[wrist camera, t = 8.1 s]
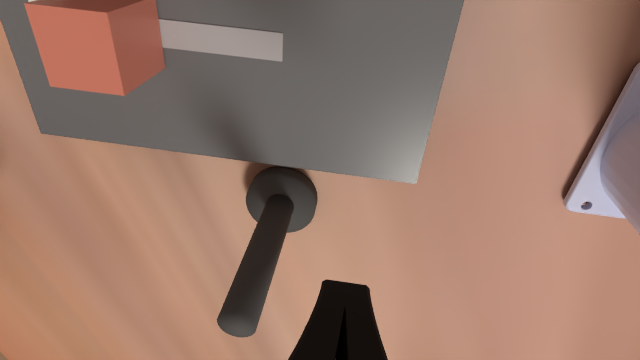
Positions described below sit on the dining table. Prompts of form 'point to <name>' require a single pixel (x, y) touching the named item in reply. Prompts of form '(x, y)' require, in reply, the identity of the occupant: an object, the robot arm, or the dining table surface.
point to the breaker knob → (97, 43)
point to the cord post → (266, 243)
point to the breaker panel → (269, 83)
